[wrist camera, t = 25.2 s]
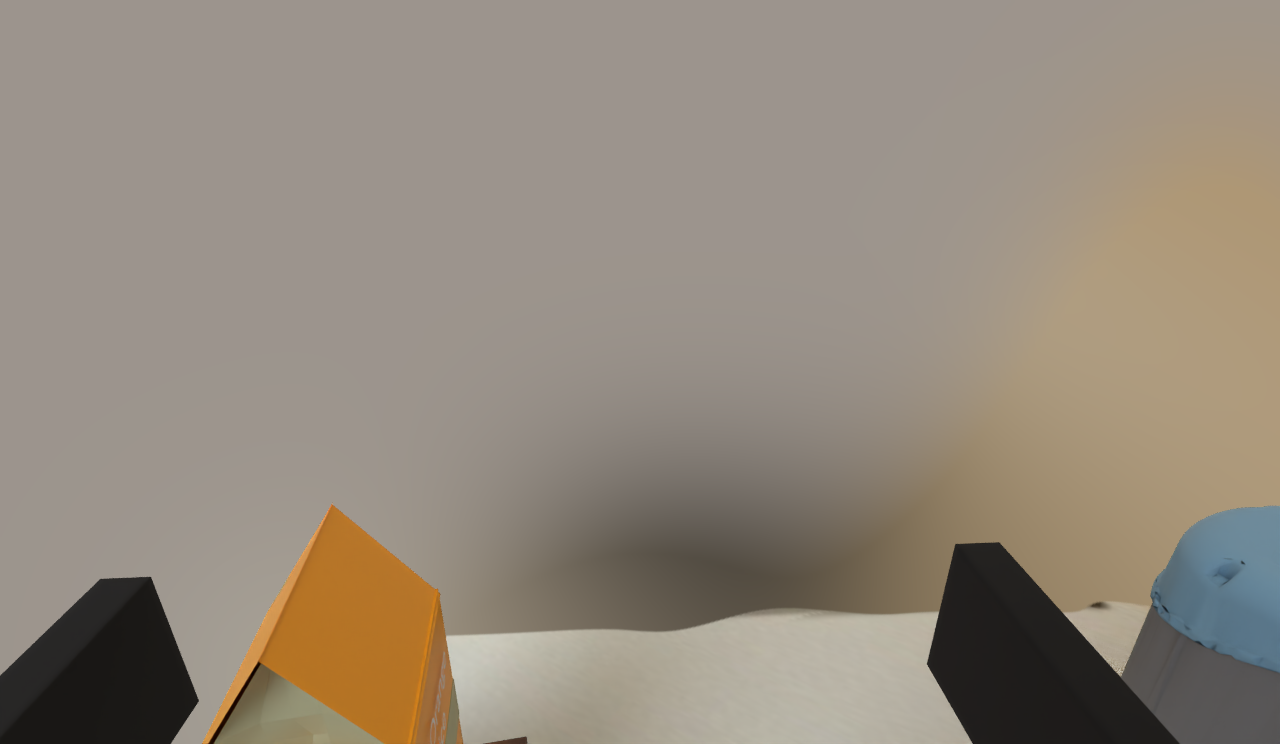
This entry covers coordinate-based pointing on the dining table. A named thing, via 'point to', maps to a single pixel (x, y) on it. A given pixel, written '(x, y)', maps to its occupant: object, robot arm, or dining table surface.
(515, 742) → the stand
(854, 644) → the dining table surface
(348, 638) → the orange juice
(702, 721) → the dining table surface
